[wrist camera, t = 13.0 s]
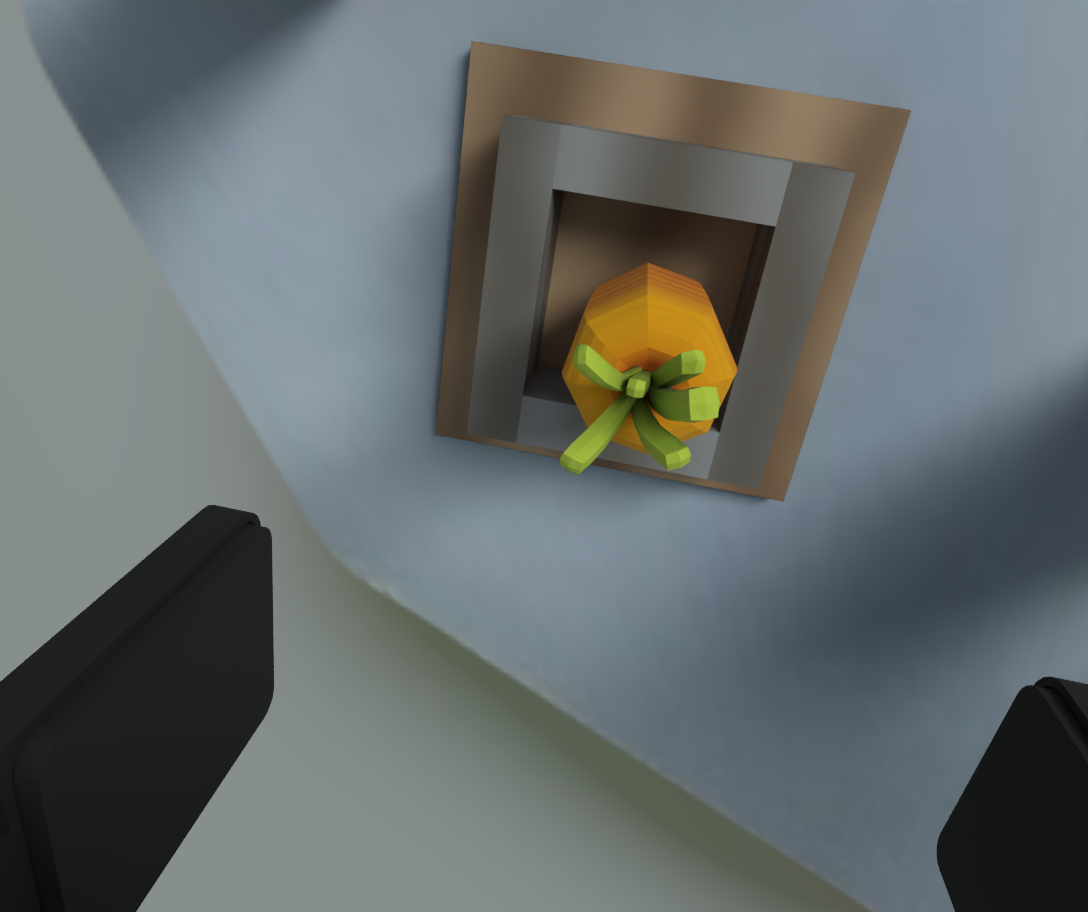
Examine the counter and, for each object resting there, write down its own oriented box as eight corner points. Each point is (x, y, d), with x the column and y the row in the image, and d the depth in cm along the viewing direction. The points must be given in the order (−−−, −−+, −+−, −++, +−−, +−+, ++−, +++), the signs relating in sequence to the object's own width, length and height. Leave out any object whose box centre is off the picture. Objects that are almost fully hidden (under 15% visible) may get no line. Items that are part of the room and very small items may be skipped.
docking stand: (902, 110, 27) (951, 109, 23) (780, 491, 34) (798, 548, 30) (477, 43, 28) (443, 29, 24) (441, 426, 35) (409, 471, 31)
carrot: (589, 354, 32) (545, 534, 18) (584, 233, 30) (531, 335, 16) (708, 351, 31) (756, 536, 17) (712, 227, 29) (768, 328, 15)
